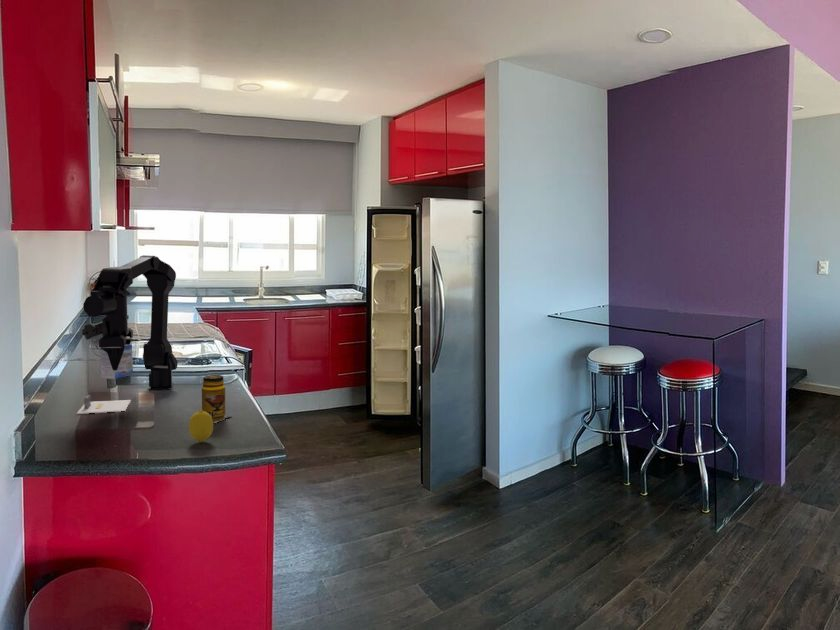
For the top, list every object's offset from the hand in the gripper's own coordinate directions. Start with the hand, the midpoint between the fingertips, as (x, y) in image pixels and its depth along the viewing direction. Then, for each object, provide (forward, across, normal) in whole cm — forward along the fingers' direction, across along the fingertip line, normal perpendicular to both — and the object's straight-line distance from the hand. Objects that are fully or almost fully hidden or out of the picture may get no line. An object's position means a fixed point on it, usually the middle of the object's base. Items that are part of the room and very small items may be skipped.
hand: (117, 366), depth 172 cm
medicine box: (+3, 0, 0) cm, 3 cm away
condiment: (+12, +18, +26) cm, 33 cm away
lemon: (+12, +38, +24) cm, 46 cm away
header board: (+12, 0, -4) cm, 12 cm away
